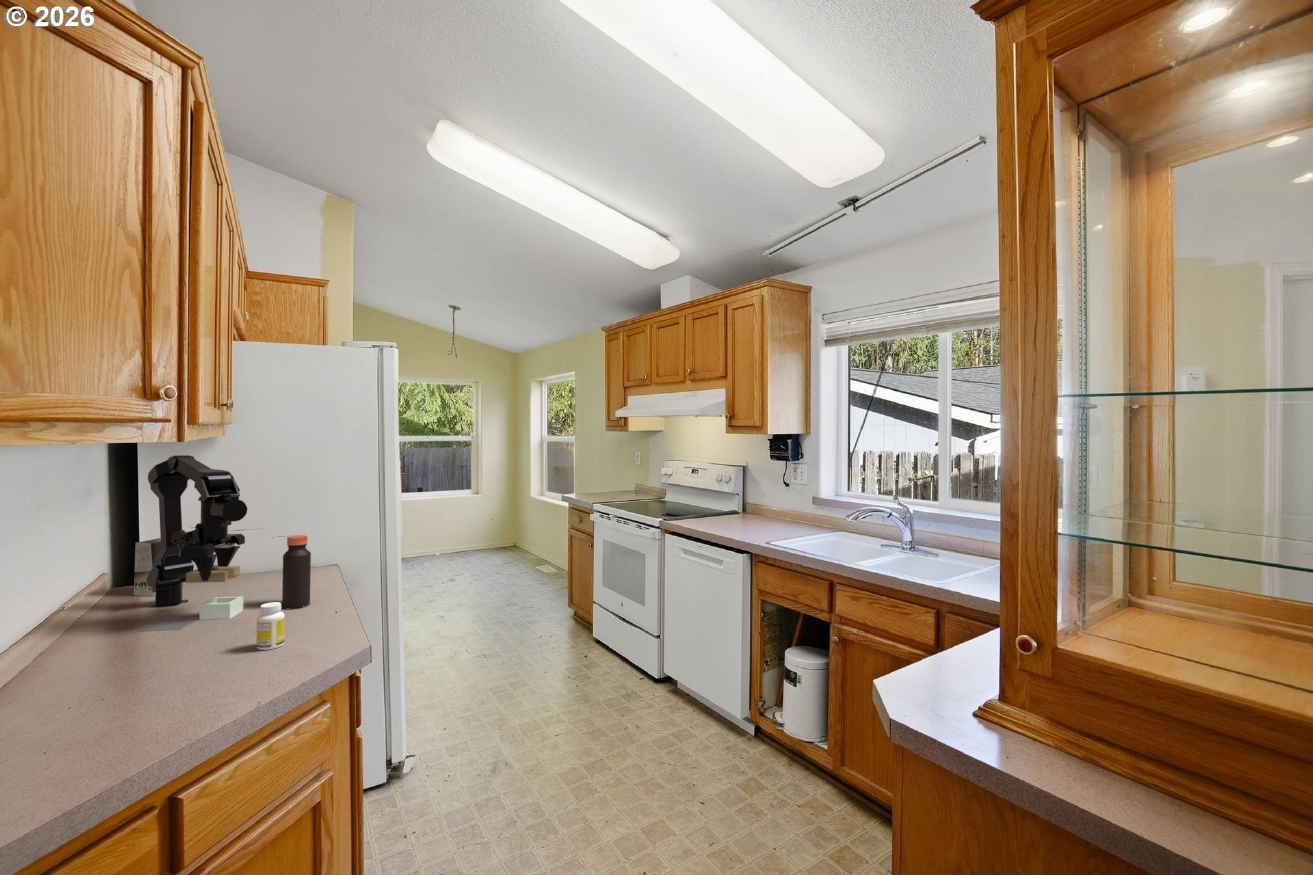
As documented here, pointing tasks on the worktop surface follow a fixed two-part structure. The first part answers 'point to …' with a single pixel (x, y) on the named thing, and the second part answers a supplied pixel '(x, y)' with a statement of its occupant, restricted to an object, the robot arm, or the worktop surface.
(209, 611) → the pale green box
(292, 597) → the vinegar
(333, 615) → the worktop surface
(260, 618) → the supplement bottle
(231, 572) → the cover
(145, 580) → the coffee box
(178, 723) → the worktop surface
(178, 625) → the mat
